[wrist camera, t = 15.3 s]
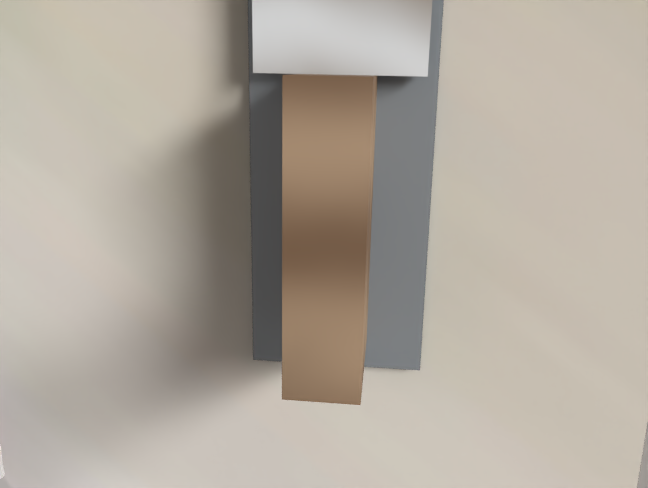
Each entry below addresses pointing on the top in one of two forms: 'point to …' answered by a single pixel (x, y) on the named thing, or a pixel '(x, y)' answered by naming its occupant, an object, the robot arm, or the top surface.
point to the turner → (331, 171)
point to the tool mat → (387, 209)
